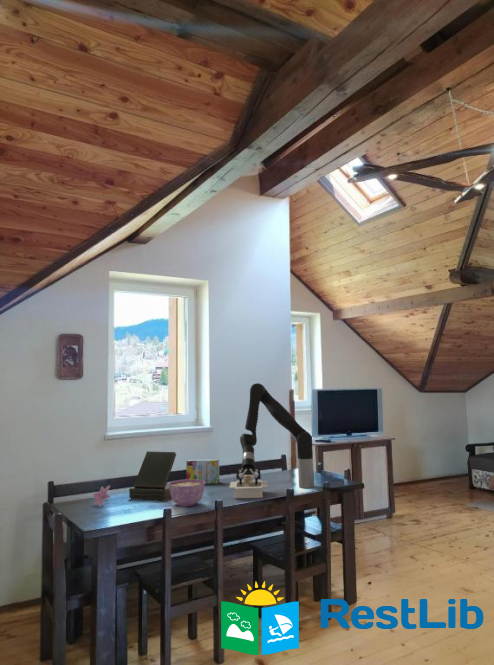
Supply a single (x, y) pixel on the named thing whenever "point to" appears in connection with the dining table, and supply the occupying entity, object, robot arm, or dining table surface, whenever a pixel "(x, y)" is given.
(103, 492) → the lily
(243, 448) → the robot arm
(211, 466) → the snack box
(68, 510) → the dining table surface
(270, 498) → the dining table surface
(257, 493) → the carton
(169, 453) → the tilted panel on base
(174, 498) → the bowl of food
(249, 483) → the block
